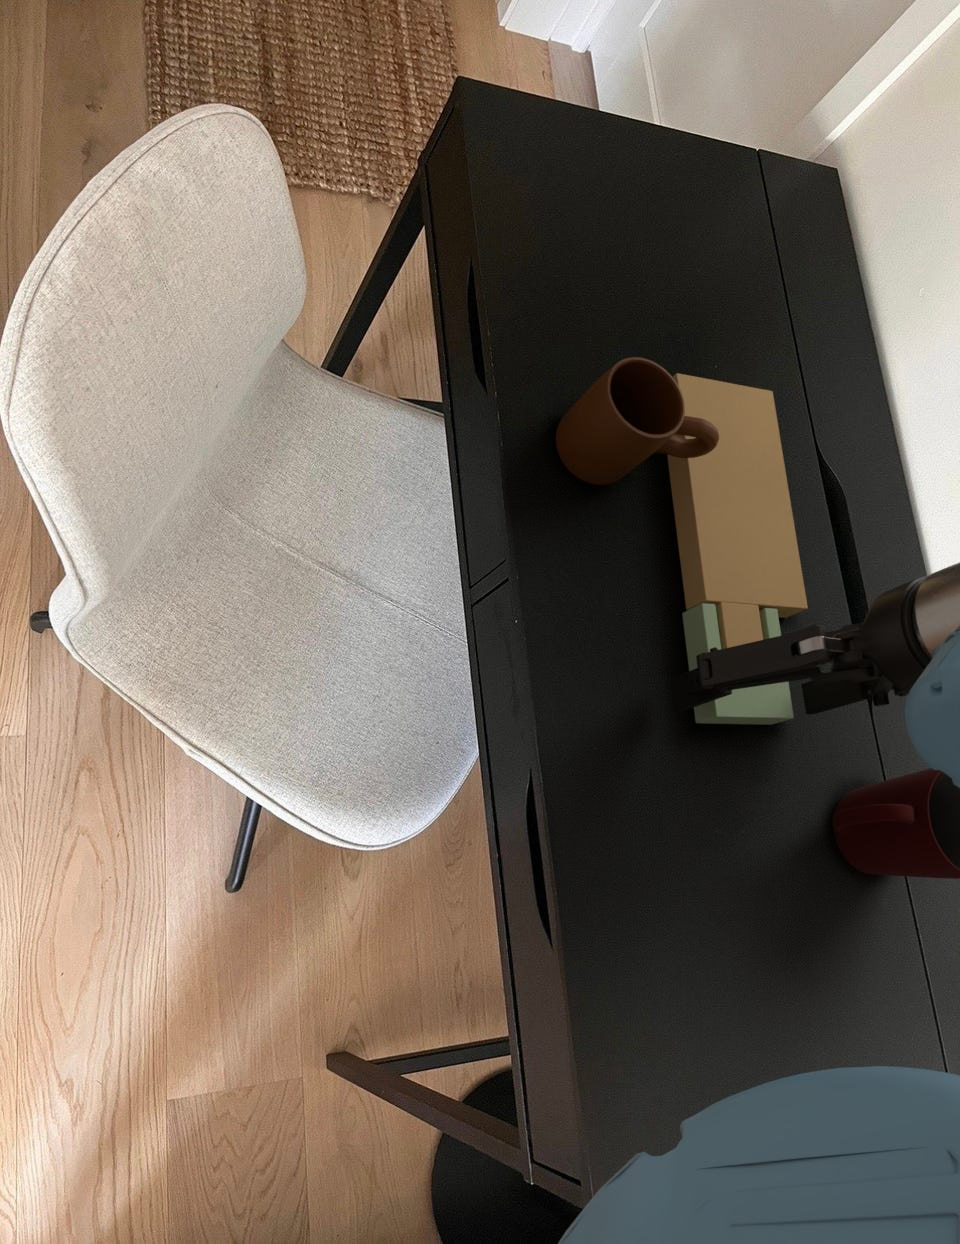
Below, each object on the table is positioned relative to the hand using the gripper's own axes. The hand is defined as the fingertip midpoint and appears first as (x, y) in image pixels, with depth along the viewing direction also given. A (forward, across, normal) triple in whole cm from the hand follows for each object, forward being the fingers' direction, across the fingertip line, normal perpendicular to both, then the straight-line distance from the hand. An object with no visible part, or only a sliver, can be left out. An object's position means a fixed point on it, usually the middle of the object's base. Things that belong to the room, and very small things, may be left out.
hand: (743, 697), depth 79 cm
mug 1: (+2, +9, -22) cm, 24 cm away
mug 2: (+2, -11, +11) cm, 16 cm away
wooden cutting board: (+2, -2, -16) cm, 16 cm away
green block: (+2, 0, -3) cm, 4 cm away
